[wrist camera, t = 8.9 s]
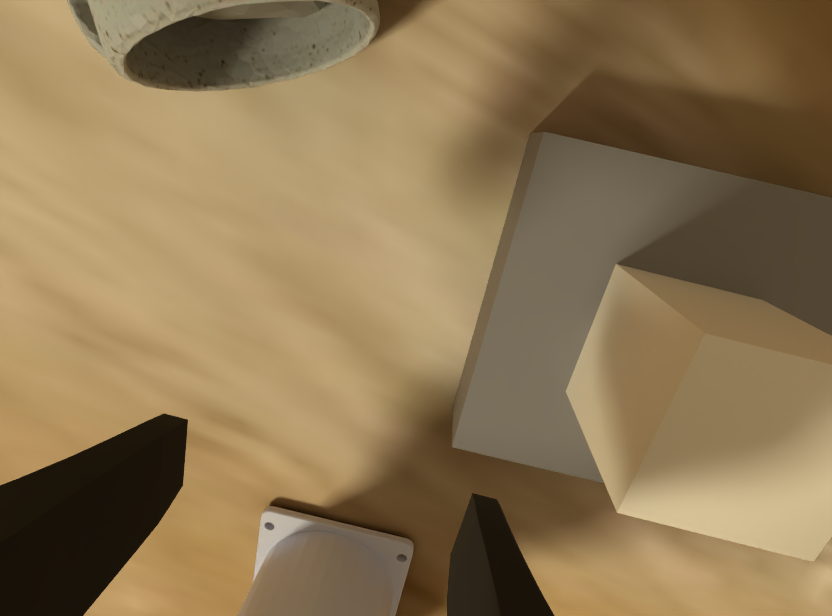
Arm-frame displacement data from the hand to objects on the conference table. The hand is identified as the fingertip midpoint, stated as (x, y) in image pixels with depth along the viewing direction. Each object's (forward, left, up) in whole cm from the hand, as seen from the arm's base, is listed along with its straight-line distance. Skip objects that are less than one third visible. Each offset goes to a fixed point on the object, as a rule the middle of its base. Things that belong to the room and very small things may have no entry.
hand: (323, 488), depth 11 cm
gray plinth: (+3, -10, -10) cm, 14 cm away
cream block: (+3, -10, -7) cm, 12 cm away
